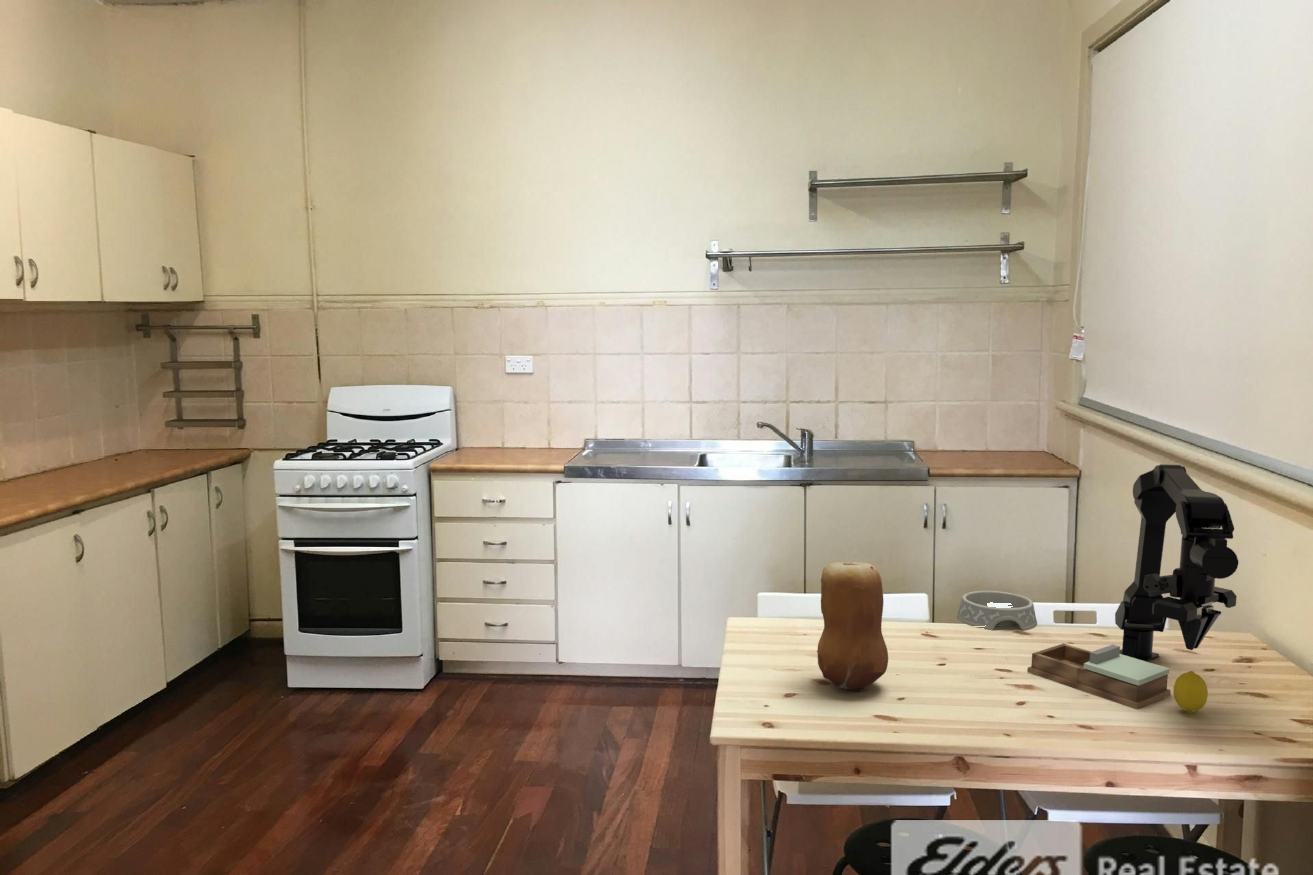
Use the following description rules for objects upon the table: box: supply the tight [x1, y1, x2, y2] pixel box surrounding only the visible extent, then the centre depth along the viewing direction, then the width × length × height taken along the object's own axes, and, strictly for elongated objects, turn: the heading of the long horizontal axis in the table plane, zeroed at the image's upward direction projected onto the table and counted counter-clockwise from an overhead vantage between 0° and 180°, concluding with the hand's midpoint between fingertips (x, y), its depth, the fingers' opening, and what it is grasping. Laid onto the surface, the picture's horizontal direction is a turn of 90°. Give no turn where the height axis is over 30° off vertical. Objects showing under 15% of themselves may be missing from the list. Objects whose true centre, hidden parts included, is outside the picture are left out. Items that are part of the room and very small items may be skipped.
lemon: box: [1172, 670, 1209, 714], centre depth 182 cm, size 6×6×8 cm
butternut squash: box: [816, 561, 889, 692], centre depth 192 cm, size 14×13×25 cm
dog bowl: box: [956, 590, 1038, 632], centre depth 237 cm, size 17×18×5 cm
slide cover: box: [1084, 644, 1171, 686], centre depth 191 cm, size 11×11×3 cm
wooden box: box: [1027, 643, 1172, 710], centre depth 196 cm, size 23×12×4 cm, turn 35°
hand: (1191, 648), depth 181 cm, fingers closed
